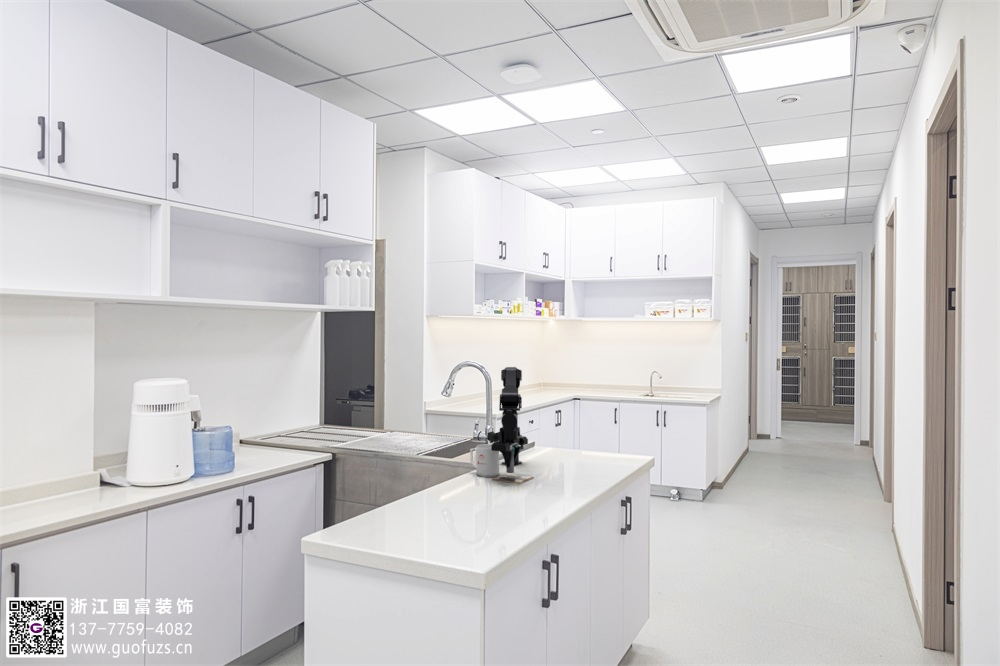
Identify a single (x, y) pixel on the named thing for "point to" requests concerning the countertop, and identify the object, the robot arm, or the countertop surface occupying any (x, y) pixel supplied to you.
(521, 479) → the clipboard
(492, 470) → the mug
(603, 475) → the countertop surface
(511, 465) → the marker
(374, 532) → the countertop surface
